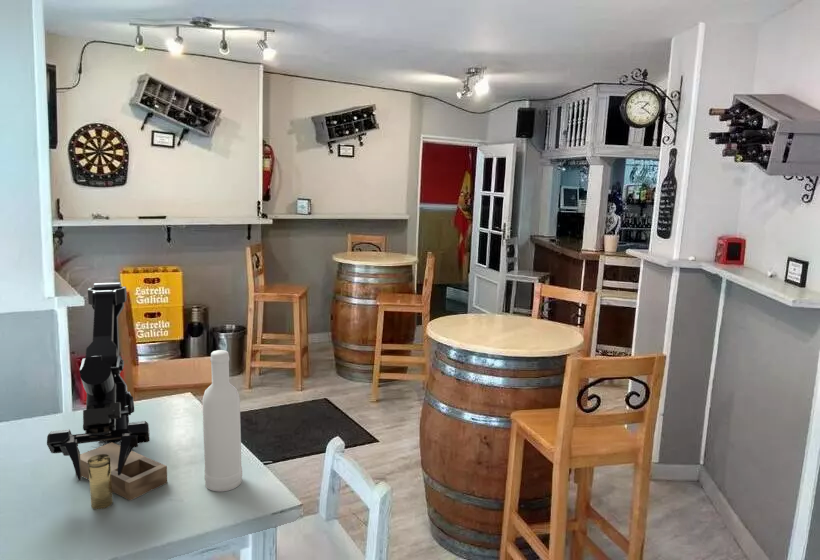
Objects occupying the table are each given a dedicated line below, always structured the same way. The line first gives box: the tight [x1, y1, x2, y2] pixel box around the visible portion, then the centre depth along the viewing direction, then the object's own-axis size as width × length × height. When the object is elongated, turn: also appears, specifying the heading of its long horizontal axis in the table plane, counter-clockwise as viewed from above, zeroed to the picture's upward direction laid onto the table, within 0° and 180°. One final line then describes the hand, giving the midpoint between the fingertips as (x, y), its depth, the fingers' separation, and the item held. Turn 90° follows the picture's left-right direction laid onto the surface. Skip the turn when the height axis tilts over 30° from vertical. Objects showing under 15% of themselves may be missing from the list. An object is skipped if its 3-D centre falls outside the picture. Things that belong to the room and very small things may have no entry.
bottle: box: [201, 349, 243, 492], centre depth 136 cm, size 8×8×30 cm
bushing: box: [88, 454, 114, 510], centre depth 128 cm, size 4×4×10 cm
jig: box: [74, 442, 168, 501], centre depth 139 cm, size 9×20×4 cm, turn 58°
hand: (99, 477), depth 126 cm, fingers open, 7 cm apart
